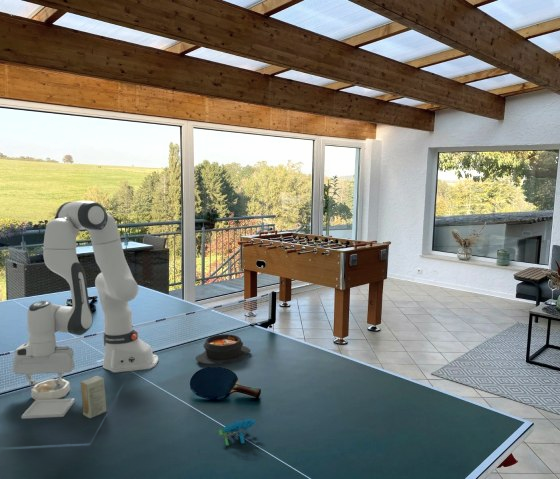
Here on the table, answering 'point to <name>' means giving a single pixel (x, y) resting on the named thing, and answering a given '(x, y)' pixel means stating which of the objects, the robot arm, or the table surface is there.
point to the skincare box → (93, 396)
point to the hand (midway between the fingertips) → (45, 384)
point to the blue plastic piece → (236, 429)
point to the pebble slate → (58, 386)
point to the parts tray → (48, 408)
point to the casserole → (222, 349)
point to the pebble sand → (45, 388)
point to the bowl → (52, 394)
